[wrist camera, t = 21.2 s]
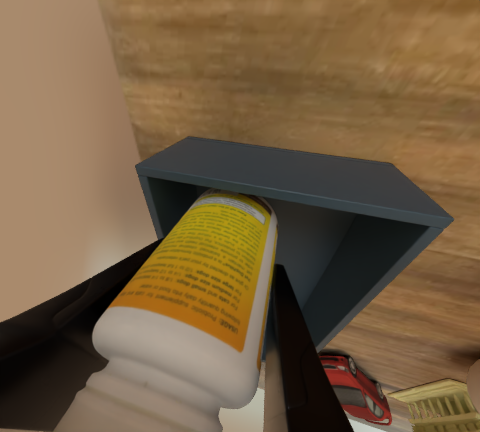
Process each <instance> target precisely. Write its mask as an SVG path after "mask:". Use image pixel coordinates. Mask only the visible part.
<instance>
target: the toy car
mask: <svg viewBox="0 0 480 432" xmlns="http://www.w3.org/2000/svg"><path fill="white" fill-rule="evenodd" d="M319 358H320V360H321V363H322V365H323V368H324V370H325V372H326V374H327V376H328V378H329V381H330V383H331V385H332V387H333V389H334V391H335V393H336V395H337V397H338V399H339V401H340V404H341V406H342V408H343V409H344V410H345V411H347V412H348V413H349V414H351V415H352V416H354V417H358V418H362V419H365V420H366V421H368V422H371V423H374V424H379V425H390V424H391V422H392V417H391V413H390V409H389V405H388V402H387V399H386V397H385V395H384V394H383V393H382V390H381V387H380V385H379V383H378V382H374V383H373V382H371V381H370V380H369V379H368V378H367V377H366V376H365V375H364V374H363V373H362V372H361V371H360V370H358V369H357V368H356V367H355V364H354V361H353V359H352V358H351V357H350V356H346V358H345V357H341V356H319ZM356 371H357V375H356ZM383 396H384V397H383ZM367 419H368V420H367ZM384 419H389V423H379V422H373V421H383V420H384ZM369 420H373V421H369Z"/></svg>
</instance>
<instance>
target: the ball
mask: <svg viewBox="0 0 480 432" xmlns="http://www.w3.org/2000/svg"><path fill="white" fill-rule="evenodd" d="M466 382H467V391H468V394H469V396H470V398H471V401H472V403H473V405H474V407H475V408H476V410H477V411H478V413H479V414H480V359H479V360H477V361H476V362H475V363H474V364H473V365H472V366H471V367H469V371H468V374H467V378H466Z"/></svg>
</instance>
